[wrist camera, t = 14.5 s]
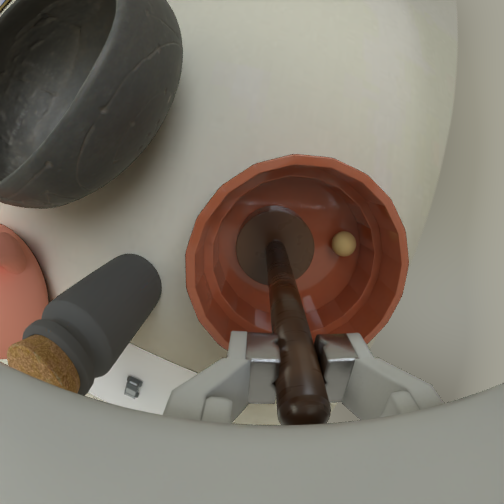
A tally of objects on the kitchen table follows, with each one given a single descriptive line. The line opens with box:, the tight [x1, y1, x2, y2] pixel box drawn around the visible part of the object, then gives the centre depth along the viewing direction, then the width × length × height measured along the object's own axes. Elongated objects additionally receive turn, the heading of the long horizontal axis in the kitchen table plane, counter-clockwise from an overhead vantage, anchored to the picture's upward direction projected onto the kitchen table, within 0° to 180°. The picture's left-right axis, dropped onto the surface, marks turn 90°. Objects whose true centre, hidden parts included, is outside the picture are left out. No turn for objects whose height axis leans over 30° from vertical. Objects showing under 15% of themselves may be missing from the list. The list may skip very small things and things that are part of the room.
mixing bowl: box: [185, 154, 409, 351], centre depth 20 cm, size 14×14×7 cm
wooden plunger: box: [236, 205, 331, 425], centre depth 14 cm, size 6×6×17 cm
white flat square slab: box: [88, 343, 197, 415], centre depth 27 cm, size 12×12×2 cm
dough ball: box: [332, 231, 356, 257], centre depth 22 cm, size 2×2×2 cm
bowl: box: [0, 0, 183, 209], centre depth 14 cm, size 18×18×13 cm
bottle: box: [7, 254, 161, 396], centre depth 17 cm, size 6×6×15 cm
